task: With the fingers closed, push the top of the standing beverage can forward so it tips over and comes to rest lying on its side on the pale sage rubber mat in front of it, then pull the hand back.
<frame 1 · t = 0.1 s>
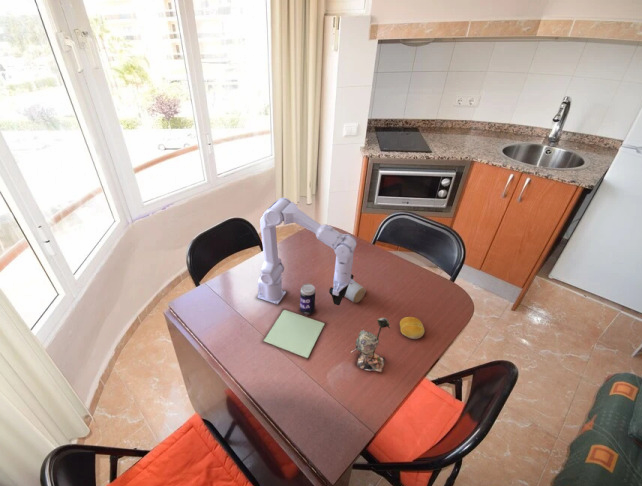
hand: (340, 297, 118), 10 cm above the table, tool pointing down, fingers open, 7 cm apart
bread roll: (410, 330, 118), on the table
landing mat: (294, 332, 118), on the table
grey figurine: (367, 361, 107), on the table
beverage can: (307, 311, 127), on the table
ceramic mug: (353, 295, 133), on the table
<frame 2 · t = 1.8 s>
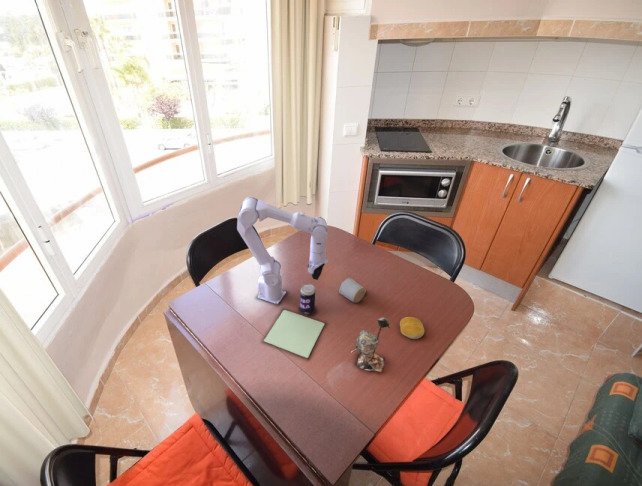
hand: (316, 277, 128), 10 cm above the table, tool pointing down, fingers closed
nothing on the table moved.
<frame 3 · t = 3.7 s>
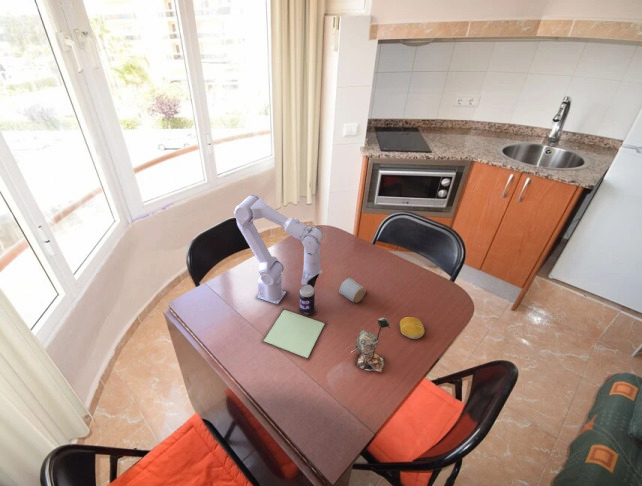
hand: (310, 287, 124), 10 cm above the table, tool pointing down, fingers closed
beverage can: (307, 310, 127), on the table, touching gripper
everything else where it was.
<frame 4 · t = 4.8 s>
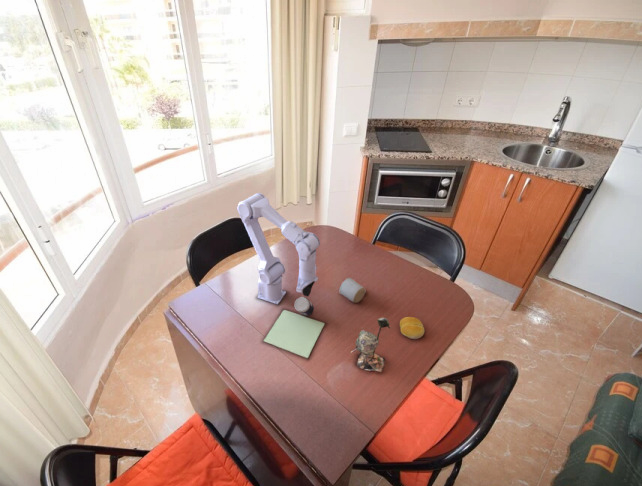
hand: (306, 294, 120), 10 cm above the table, tool pointing down, fingers closed
beverage can: (307, 308, 126), point 2 cm above the table
everything else where it was.
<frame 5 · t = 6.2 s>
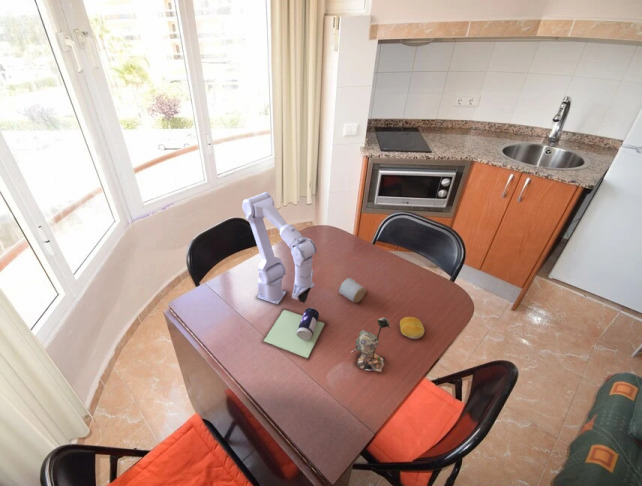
hand: (302, 301, 118), 10 cm above the table, tool pointing down, fingers closed
beverage can: (312, 311, 122), point 3 cm above the table, touching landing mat
everything else where it was.
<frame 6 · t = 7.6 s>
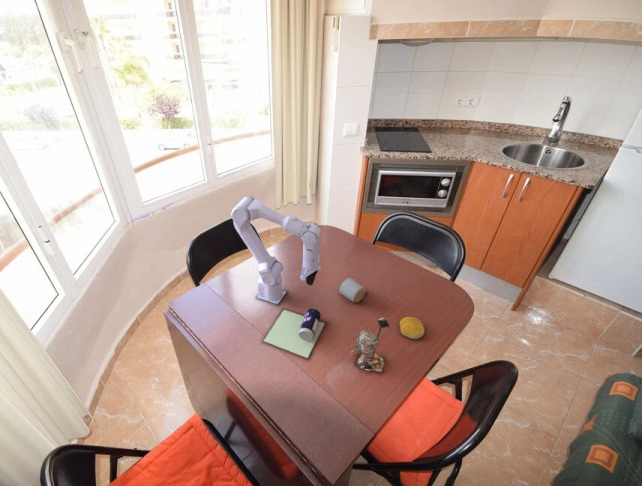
hand: (310, 283, 124), 10 cm above the table, tool pointing down, fingers closed
nothing on the table moved.
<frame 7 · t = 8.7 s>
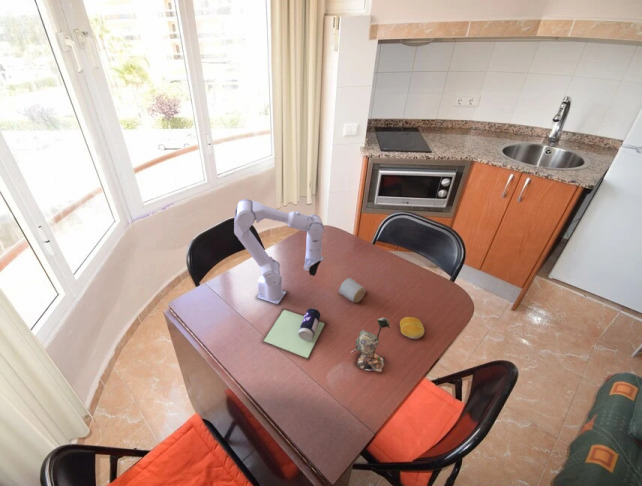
hand: (312, 274, 129), 10 cm above the table, tool pointing down, fingers closed
nothing on the table moved.
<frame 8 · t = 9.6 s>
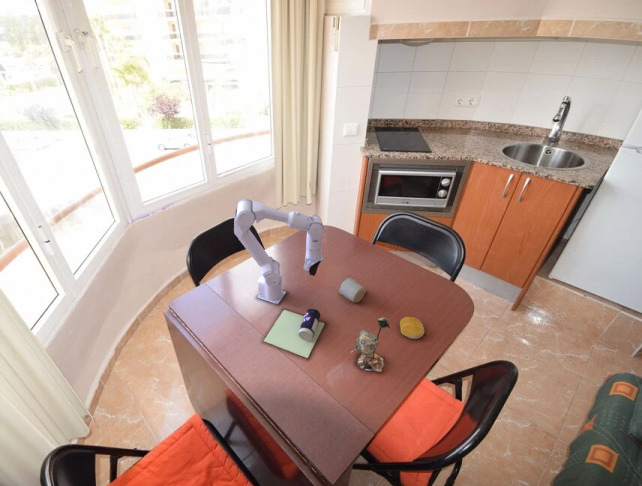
hand: (312, 274, 129), 10 cm above the table, tool pointing down, fingers closed
nothing on the table moved.
at the end: beverage can tilted 90°; beverage can touching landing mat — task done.
